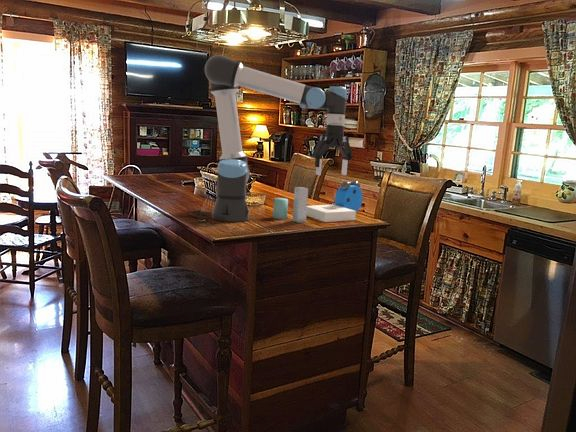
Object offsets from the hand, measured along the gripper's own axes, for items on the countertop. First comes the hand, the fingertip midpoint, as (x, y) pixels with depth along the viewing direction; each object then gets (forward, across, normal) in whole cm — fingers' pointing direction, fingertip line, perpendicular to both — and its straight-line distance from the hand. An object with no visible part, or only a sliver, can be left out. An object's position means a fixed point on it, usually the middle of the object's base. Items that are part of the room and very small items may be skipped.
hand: (331, 175), depth 212 cm
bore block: (+19, +1, 0) cm, 19 cm away
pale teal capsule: (+19, -21, +5) cm, 29 cm away
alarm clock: (+19, +15, +6) cm, 25 cm away
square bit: (+19, -17, -4) cm, 26 cm away
